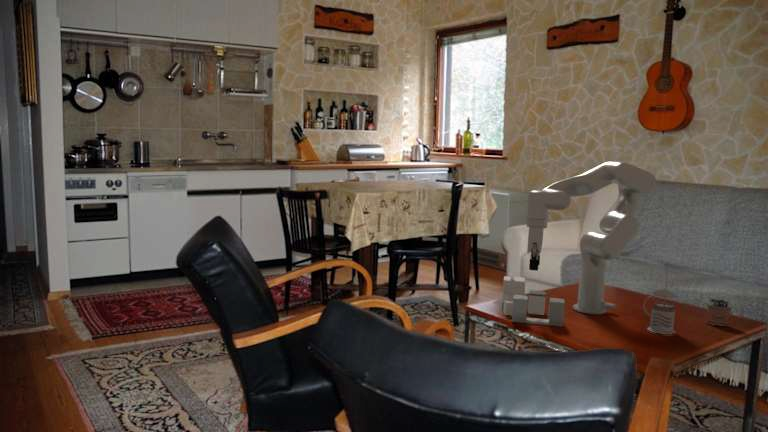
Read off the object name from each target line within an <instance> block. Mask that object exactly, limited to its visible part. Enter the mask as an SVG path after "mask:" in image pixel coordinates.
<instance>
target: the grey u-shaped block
mask: <svg viewBox="0 0 768 432" xmlns="http://www.w3.org/2000/svg"><path fill="white" fill-rule="evenodd" d="M528 302H529V297H528V295H525V294H524V295H514V297H513V312H512V316H511V322H513V323H520V324H521V323H523V324H532V325H541V326H542V325H543V326H552V327H560V328H561V327H563V326H564V319H565V318H564V315H565V299H564V298H557V297H556V298H555V297H549V301H548V303H549V304H548V314H547V315H548V317H547V318H537V317H536V318H535V317H528V316H527V314H528Z"/></svg>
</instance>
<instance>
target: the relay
mask: <svg viewBox="0 0 768 432" xmlns="http://www.w3.org/2000/svg"><path fill="white" fill-rule="evenodd" d="M502 310H503V311H502V312H503V315H505V316H506V315H510V316H509V317H512V312H513V300H504V308H503V309H502Z"/></svg>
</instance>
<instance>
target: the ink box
mask: <svg viewBox="0 0 768 432" xmlns="http://www.w3.org/2000/svg"><path fill="white" fill-rule="evenodd" d="M525 286H526V277H520V276H515V275H514V274H513V273H512V272H510V275H509V276H507V275H505V276H504V277H503V285H502V305H501V309H502V310H503V308H504V300H513V297H514V295H524V296H525V291H526V290H525Z"/></svg>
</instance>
